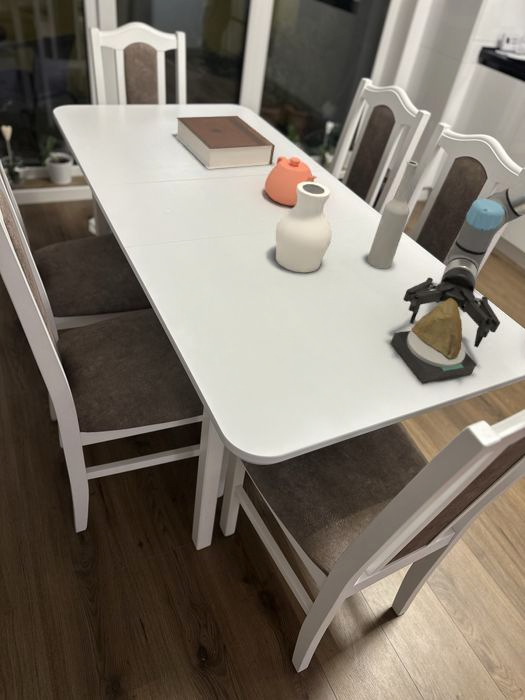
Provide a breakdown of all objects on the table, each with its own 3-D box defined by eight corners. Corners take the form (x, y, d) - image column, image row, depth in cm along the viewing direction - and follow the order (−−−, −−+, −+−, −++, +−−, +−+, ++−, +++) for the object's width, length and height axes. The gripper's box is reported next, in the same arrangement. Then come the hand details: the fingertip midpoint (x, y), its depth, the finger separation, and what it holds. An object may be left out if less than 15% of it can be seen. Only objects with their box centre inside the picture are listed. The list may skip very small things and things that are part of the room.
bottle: (363, 255, 149) (394, 156, 131) (384, 255, 151) (418, 157, 133) (373, 269, 144) (407, 167, 126) (395, 268, 146) (431, 169, 128)
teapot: (328, 213, 166) (338, 174, 158) (284, 217, 159) (292, 177, 151) (293, 181, 180) (301, 144, 172) (252, 184, 173) (257, 146, 165)
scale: (472, 375, 117) (479, 361, 114) (423, 384, 112) (429, 370, 109) (437, 336, 126) (443, 322, 123) (390, 342, 121) (395, 329, 118)
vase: (333, 260, 145) (352, 190, 132) (308, 281, 135) (326, 208, 122) (288, 240, 149) (302, 170, 136) (260, 259, 140) (273, 186, 127)
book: (235, 133, 205) (237, 115, 201) (271, 164, 188) (274, 145, 184) (175, 136, 194) (176, 117, 190) (208, 168, 177) (210, 149, 173)
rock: (475, 354, 112) (463, 320, 118) (466, 329, 106) (454, 295, 113) (424, 370, 116) (415, 336, 122) (412, 347, 110) (403, 312, 116)
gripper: (505, 313, 125) (498, 365, 110) (401, 277, 130) (381, 322, 115) (519, 286, 120) (515, 337, 105) (411, 250, 126) (392, 294, 110)
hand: (445, 330), depth 110 cm, fingers open, 13 cm apart
